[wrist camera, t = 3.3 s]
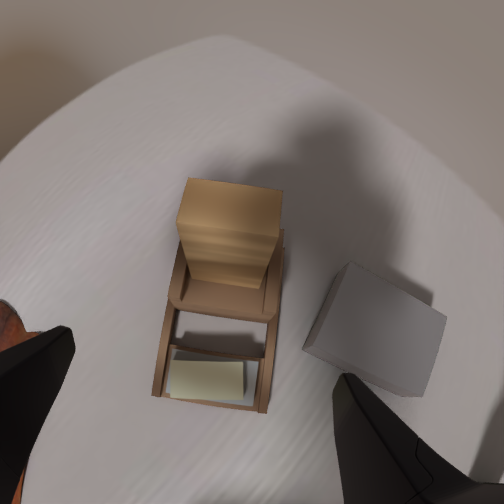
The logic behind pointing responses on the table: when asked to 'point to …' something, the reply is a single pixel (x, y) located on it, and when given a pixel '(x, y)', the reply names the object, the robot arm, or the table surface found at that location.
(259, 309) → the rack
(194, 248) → the oak block
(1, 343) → the wooden tablet
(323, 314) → the plinth
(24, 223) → the table surface
